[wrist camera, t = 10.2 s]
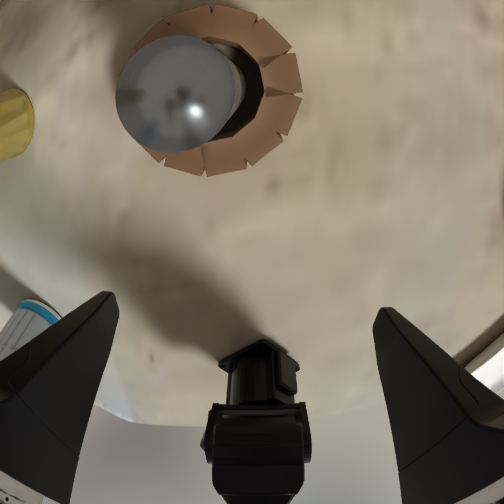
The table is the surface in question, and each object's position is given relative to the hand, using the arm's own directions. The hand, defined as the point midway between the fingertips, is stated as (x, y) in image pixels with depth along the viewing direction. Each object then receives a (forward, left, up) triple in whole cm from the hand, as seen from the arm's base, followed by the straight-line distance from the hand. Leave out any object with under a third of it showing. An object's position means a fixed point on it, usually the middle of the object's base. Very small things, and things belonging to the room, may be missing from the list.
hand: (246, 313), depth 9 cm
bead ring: (+2, +6, -13) cm, 14 cm away
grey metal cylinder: (+3, +6, -13) cm, 14 cm away
